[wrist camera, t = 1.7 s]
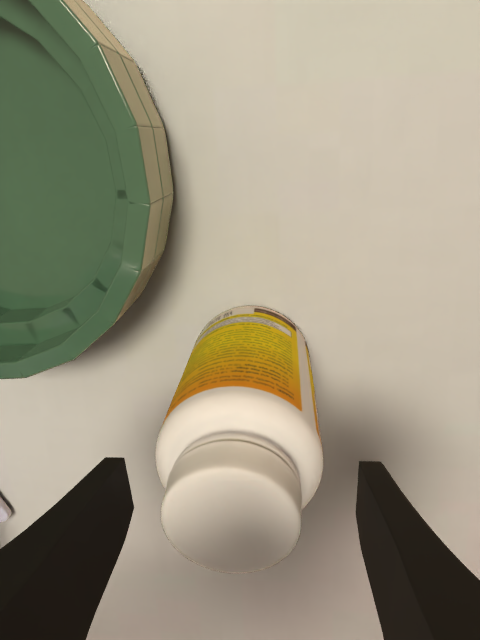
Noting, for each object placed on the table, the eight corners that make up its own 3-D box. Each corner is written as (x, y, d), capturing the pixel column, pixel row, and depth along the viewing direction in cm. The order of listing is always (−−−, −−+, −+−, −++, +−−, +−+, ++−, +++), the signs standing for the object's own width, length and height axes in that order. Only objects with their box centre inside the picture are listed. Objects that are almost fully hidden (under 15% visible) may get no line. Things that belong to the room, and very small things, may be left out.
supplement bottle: (175, 331, 21) (90, 485, 12) (276, 281, 20) (273, 412, 10) (230, 417, 23) (195, 612, 13) (327, 377, 21) (365, 564, 12)
